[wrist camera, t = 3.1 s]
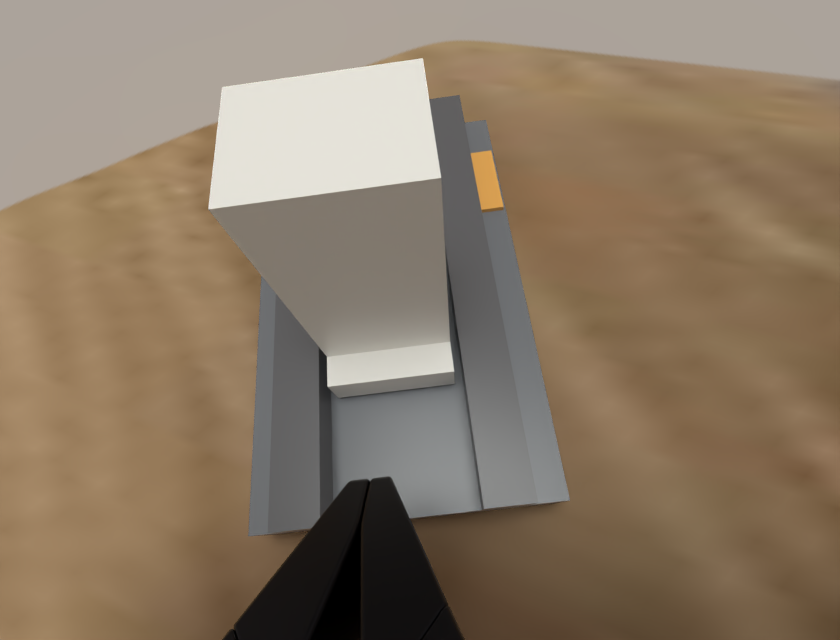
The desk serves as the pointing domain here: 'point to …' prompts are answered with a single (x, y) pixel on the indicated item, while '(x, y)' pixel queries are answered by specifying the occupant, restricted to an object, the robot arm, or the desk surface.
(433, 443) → the switch base
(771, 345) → the desk surface
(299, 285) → the switch tab
